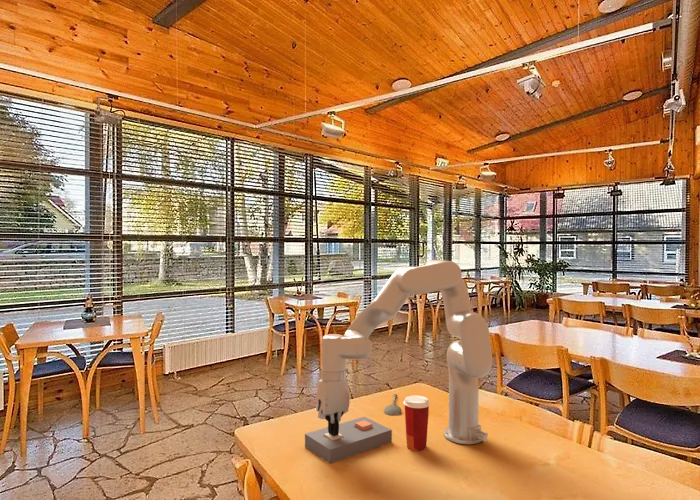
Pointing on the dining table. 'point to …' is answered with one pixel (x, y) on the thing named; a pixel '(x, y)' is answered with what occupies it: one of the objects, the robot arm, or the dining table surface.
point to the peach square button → (363, 425)
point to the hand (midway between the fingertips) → (333, 434)
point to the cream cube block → (332, 436)
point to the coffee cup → (416, 422)
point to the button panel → (347, 440)
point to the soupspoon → (392, 408)
